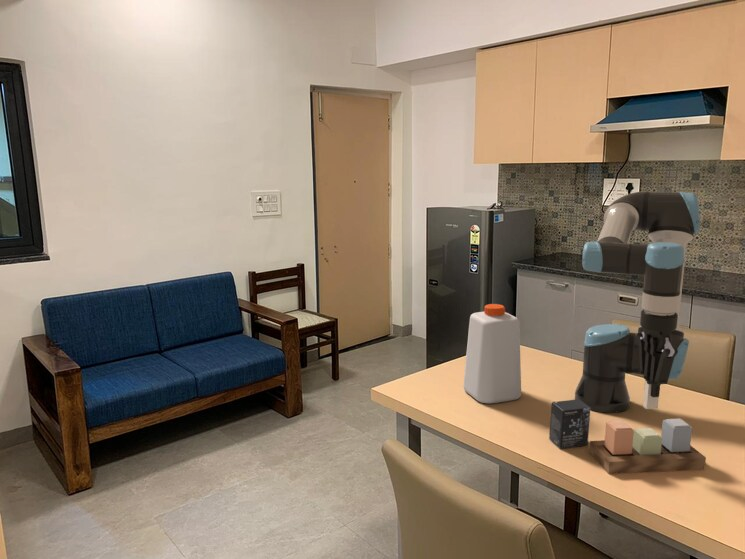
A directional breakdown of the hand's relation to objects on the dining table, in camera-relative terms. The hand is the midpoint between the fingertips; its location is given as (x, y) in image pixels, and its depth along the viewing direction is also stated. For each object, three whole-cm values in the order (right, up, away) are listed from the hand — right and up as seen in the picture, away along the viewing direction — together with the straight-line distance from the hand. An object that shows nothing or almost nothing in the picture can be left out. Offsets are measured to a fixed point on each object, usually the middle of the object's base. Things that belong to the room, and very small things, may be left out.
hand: (650, 407), depth 135 cm
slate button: (+7, -10, +2) cm, 12 cm away
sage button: (0, -12, +2) cm, 12 cm away
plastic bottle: (-29, -5, +42) cm, 51 cm away
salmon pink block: (-7, -10, +1) cm, 13 cm away
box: (-15, -12, +11) cm, 23 cm away
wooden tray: (0, -13, +2) cm, 14 cm away
